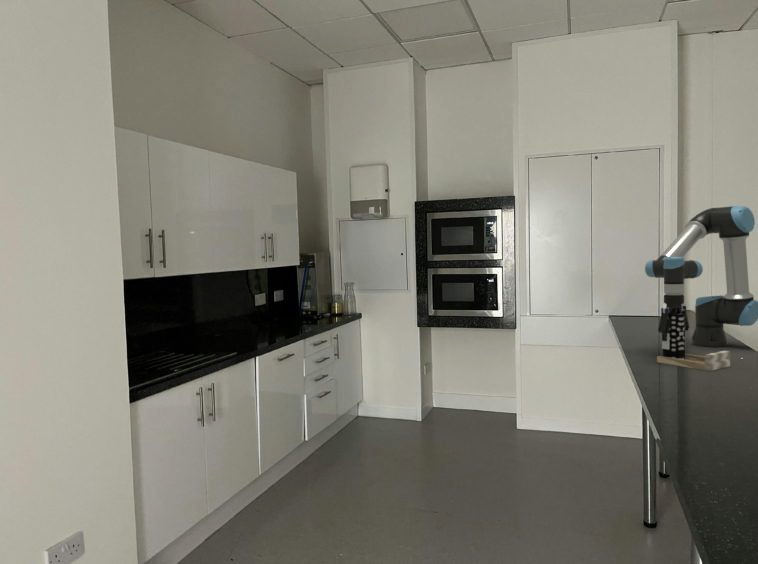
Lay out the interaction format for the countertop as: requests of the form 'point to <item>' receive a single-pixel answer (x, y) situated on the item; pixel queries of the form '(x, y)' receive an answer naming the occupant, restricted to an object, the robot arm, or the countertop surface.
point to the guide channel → (700, 361)
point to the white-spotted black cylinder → (676, 337)
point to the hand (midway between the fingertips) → (673, 347)
